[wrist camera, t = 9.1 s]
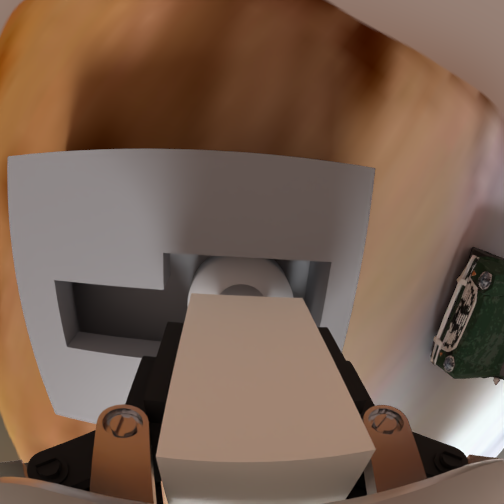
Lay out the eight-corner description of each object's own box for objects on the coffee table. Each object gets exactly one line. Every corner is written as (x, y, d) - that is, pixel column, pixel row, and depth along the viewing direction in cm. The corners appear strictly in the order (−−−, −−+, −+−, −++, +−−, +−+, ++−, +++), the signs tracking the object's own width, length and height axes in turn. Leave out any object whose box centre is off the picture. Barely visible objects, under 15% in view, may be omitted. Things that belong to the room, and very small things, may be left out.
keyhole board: (331, 163, 16) (375, 168, 11) (298, 378, 20) (316, 436, 15) (64, 153, 15) (7, 156, 10) (85, 362, 19) (55, 414, 14)
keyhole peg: (293, 250, 16) (406, 428, 5) (282, 336, 17) (337, 529, 6) (191, 244, 15) (122, 435, 4) (190, 333, 17) (161, 534, 6)
